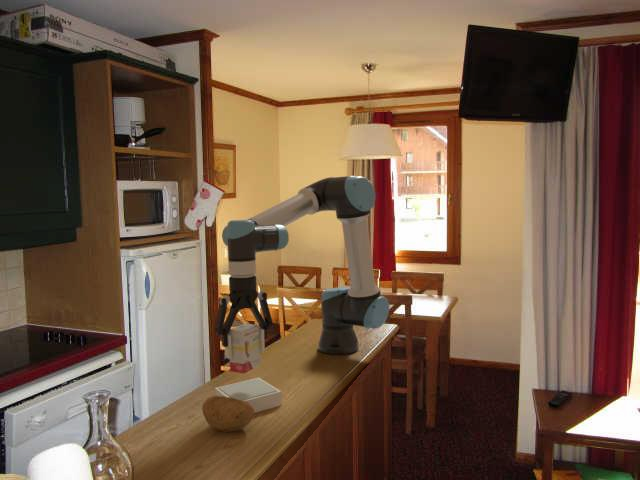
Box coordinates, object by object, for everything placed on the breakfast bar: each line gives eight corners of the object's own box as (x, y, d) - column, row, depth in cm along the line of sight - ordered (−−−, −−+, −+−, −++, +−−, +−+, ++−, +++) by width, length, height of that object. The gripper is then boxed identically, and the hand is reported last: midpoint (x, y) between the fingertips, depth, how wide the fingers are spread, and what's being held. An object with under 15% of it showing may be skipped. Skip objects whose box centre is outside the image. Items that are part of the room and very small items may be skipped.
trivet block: (259, 390, 160) (258, 376, 159) (281, 405, 148) (281, 390, 148) (215, 401, 152) (214, 387, 152) (235, 418, 140) (235, 402, 140)
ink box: (243, 374, 144) (242, 331, 143) (229, 371, 146) (227, 329, 145) (261, 365, 151) (260, 324, 150) (247, 362, 154) (246, 322, 153)
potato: (242, 442, 127) (241, 410, 126) (195, 433, 132) (193, 402, 132) (263, 425, 136) (262, 395, 135) (217, 417, 141) (216, 388, 141)
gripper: (271, 270, 156) (273, 344, 158) (199, 278, 144) (203, 358, 146) (283, 272, 149) (286, 350, 151) (209, 281, 137) (213, 365, 139)
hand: (245, 354), depth 148 cm, fingers closed on ink box, 9 cm apart
